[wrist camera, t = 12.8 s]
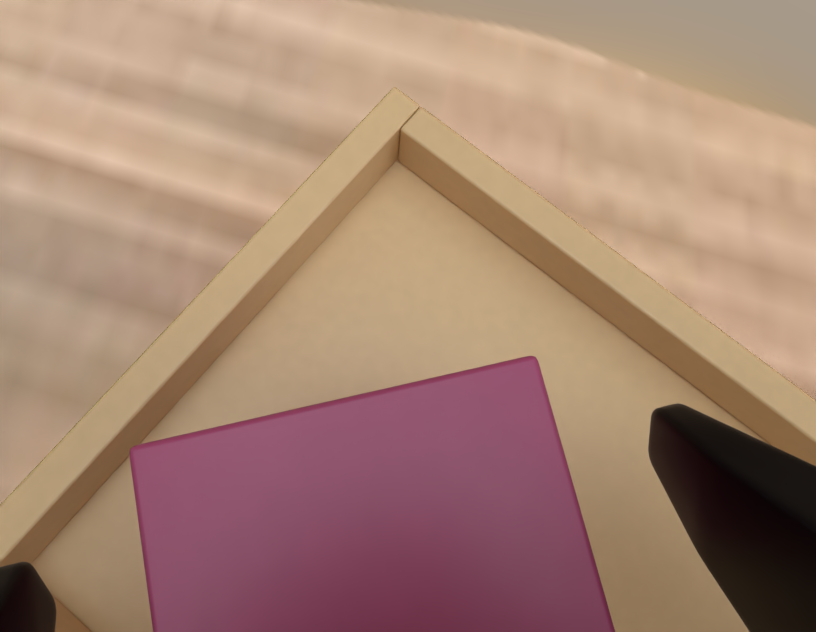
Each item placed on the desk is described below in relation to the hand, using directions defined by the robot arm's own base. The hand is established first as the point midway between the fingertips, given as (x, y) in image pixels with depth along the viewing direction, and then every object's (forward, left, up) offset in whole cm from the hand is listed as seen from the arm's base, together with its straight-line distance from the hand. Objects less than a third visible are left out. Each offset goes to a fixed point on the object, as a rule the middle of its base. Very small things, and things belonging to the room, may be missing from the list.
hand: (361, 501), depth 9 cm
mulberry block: (-1, 0, -5) cm, 5 cm away
